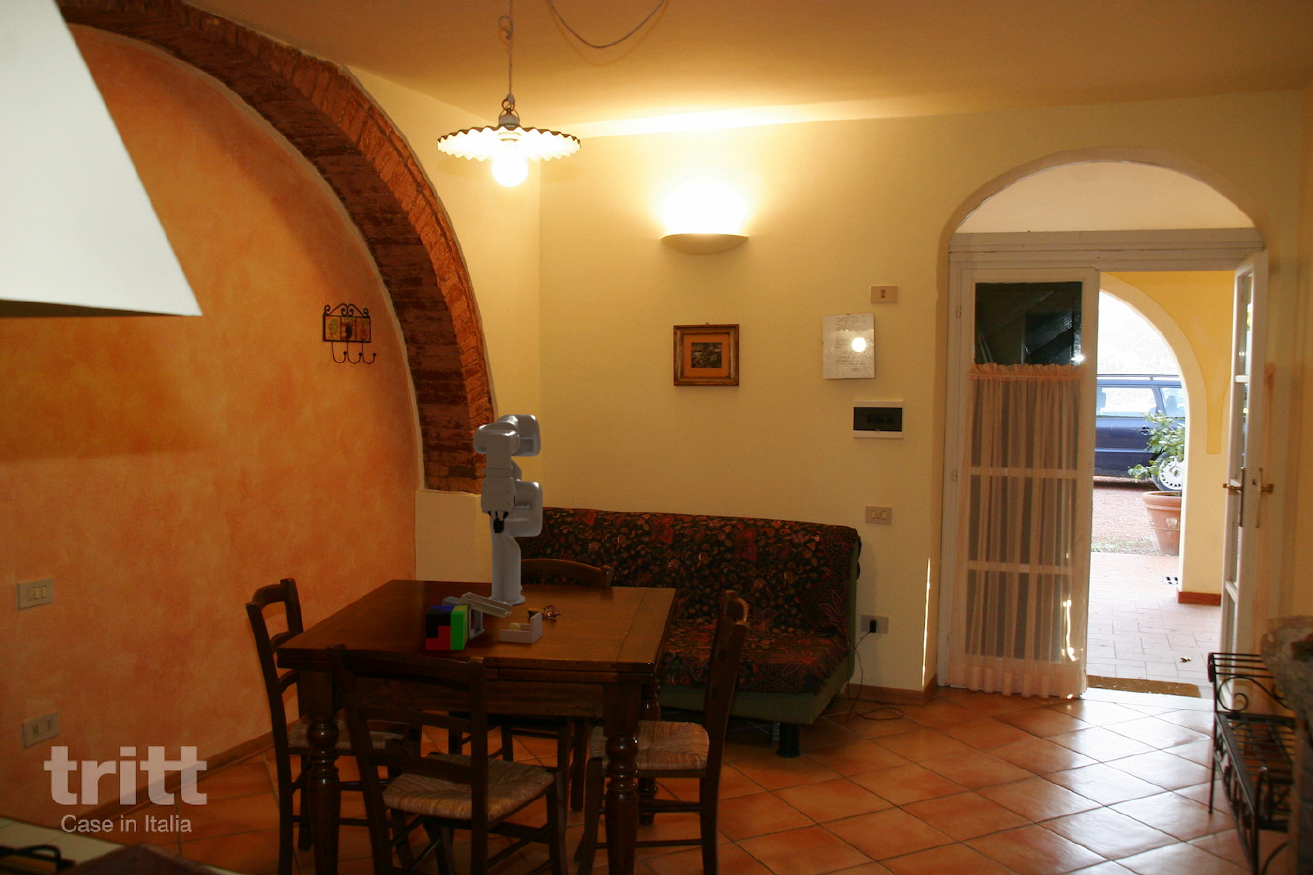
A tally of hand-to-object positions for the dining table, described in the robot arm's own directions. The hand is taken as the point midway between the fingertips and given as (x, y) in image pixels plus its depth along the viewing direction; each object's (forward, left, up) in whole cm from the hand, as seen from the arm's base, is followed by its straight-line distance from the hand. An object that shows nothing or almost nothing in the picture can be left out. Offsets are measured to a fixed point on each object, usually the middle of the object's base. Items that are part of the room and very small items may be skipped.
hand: (498, 532), depth 287 cm
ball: (+17, +12, -25) cm, 32 cm away
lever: (+14, -1, -23) cm, 27 cm away
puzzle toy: (+28, -4, -28) cm, 40 cm away
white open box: (+17, +14, -28) cm, 35 cm away
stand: (+17, -1, -28) cm, 32 cm away
